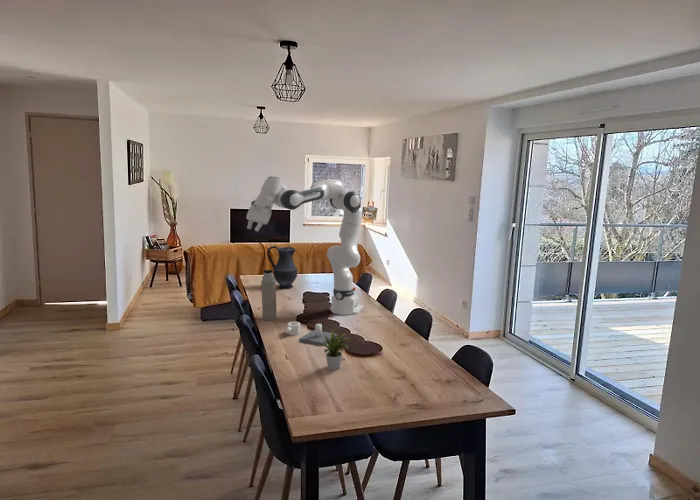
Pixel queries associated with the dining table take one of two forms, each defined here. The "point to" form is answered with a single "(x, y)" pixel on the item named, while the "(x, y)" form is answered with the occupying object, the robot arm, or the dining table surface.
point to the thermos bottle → (268, 296)
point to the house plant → (334, 351)
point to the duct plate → (314, 339)
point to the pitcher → (284, 267)
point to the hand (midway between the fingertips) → (252, 229)
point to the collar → (293, 328)
